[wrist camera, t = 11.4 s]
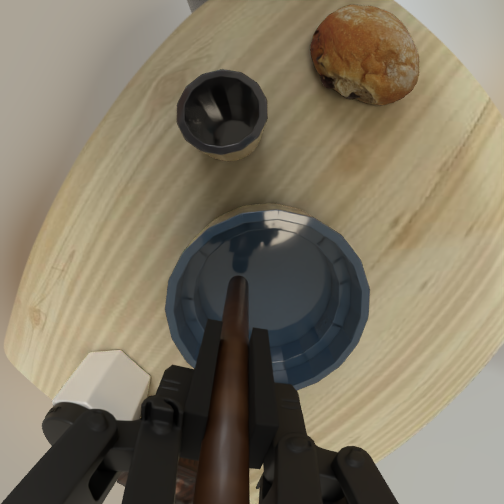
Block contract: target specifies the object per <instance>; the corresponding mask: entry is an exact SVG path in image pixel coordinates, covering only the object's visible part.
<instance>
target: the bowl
mask: <svg viewBox="0 0 504 504" xmlns="http://www.w3.org/2000/svg"><path fill="white" fill-rule="evenodd" d="M238 275H239V276H243V277H244V278H246V280H247V281H248V284H249V341H250V337H251V333H252V329H253V327H255V328H261V329H267V330H268V335H269V343H270V351H271V359H272V367H273V376H274V382H276V383H284V384H292V386H293V387H294V388H295V389H296V390H299V389H302V388H304V387H307V386H310V385H312V384H315V383H317V382H319V381H320V380H321V379H323V378H324V377H326V376H327V375H329V374H330V373H331V372H333V371H334V370H335V369H337V368H338V367H339V366H341V365H342V363H343V362H344V361H345V360H346V358H347V357H348V356H349V355H350V353H351V352H352V351H353V350H354V348H355V347H356V346H357V344H358V342H359V340H360V338H361V335H362V333H363V330H364V328H365V325H366V322H367V320H368V315H369V296H370V289H369V285H368V281H367V278H366V275H365V271H364V268H363V265H362V262H361V260H360V258H359V257H358V256H357V254H356V253H355V252H354V250H353V249H352V248H351V246H350V245H349V244H348V242H347V241H346V240H345V239H344V237H343V236H342V235H341V234H339V233H338V232H336V231H335V230H333V229H331V228H330V227H328V226H327V225H325V224H324V223H322V222H321V221H319V220H317V219H316V218H314V217H313V216H311V215H309V214H308V213H306V212H305V211H303V210H301V209H298V208H294V207H289V206H285V205H281V204H276V203H264V204H254V205H244V206H241V207H239V208H236V209H234V210H232V211H230V212H227V213H225V214H223V215H221V216H219V217H217V218H215V219H214V220H213V221H212V222H211V223H210V224H209V225H208V226H207V227H205V228H204V229H203V230H202V231H201V232H200V233H199V234H198V235H197V236H196V237H195V238H194V239H193V241H192V242H191V243H190V244H189V245H188V246H187V248H186V249H185V250H184V251H183V252H182V254H181V256H180V258H179V260H178V262H177V264H176V266H175V268H174V270H173V272H172V274H171V276H170V278H169V281H168V287H167V296H166V304H165V312H166V317H167V321H168V325H169V329H170V333H171V337H172V340H173V341H174V343H175V345H176V346H177V348H178V349H179V351H180V352H181V354H182V356H183V357H184V359H185V360H186V362H187V363H188V364H190V365H191V366H192V367H193V368H194V369H195V365H196V361H197V358H198V354H199V350H200V346H201V342H202V339H203V335H204V331H205V328H206V324H207V320H208V319H213V320H218V321H222V316H223V311H224V305H225V300H226V294H227V289H228V283H229V281H230V279H231V278H232V277H234V276H238Z"/></svg>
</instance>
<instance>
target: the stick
mask: <svg viewBox="0 0 504 504" xmlns="http://www.w3.org/2000/svg"><path fill="white" fill-rule="evenodd" d="M222 321H223V325H222V331H221V337H220V343H219V349H218V355H217V362H216V368H215V374H214V381H213V387H212V394H211V400H210V407H209V413H208V419H207V424H206V430H205V435H204V438H203V440H202V443H201V449H200V456H199V462H198V469H197V476H196V483H195V489H194V496H193V503H192V504H250V500H249V385H248V345H249V284H248V281H247V280H246V278H244V277H243V276H239V275H238V276H234V277H232V278H231V279H230V281H229V283H228V289H227V294H226V300H225V305H224V311H223V316H222Z"/></svg>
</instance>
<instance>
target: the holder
mask: <svg viewBox="0 0 504 504" xmlns="http://www.w3.org/2000/svg"><path fill="white" fill-rule="evenodd" d="M267 119H268V113H267V99H266V97H265V95H264V93H263V92H262V90H261V88H260V86H259V84H258V83H257V82H255V81H254V80H252V79H251V78H249V77H248V76H246V75H245V74H243V73H241V72H236V71H230V70H224V69H222V70H221V69H220V70H216V71H213V72H209V73H205V74H202V75H200V76H199V77H198V78H196V79H195V80H194V81H193V82H191V83H190V84H189V85H188V86H186V88H185V89H184V91H183V93H182V95H181V97H180V99H179V101H178V103H177V125H178V127H179V129H180V131H181V133H182V135H183V137H184V138H185V140H186V141H187V142H189V143H190V144H191V145H193V146H194V147H196V148H197V149H198V150H200V151H201V152H203V153H205V154H207V155H209V156H211V157H213V158H214V159H218V160H222V161H236V160H240V159H243V158H245V157H246V156H248V155H249V154H251V153H252V152H253V151H254V150H255V149H256V147H257V145H258V143H259V141H260V139H261V137H262V134H263V131H264V128H265V125H266V122H267Z"/></svg>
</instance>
